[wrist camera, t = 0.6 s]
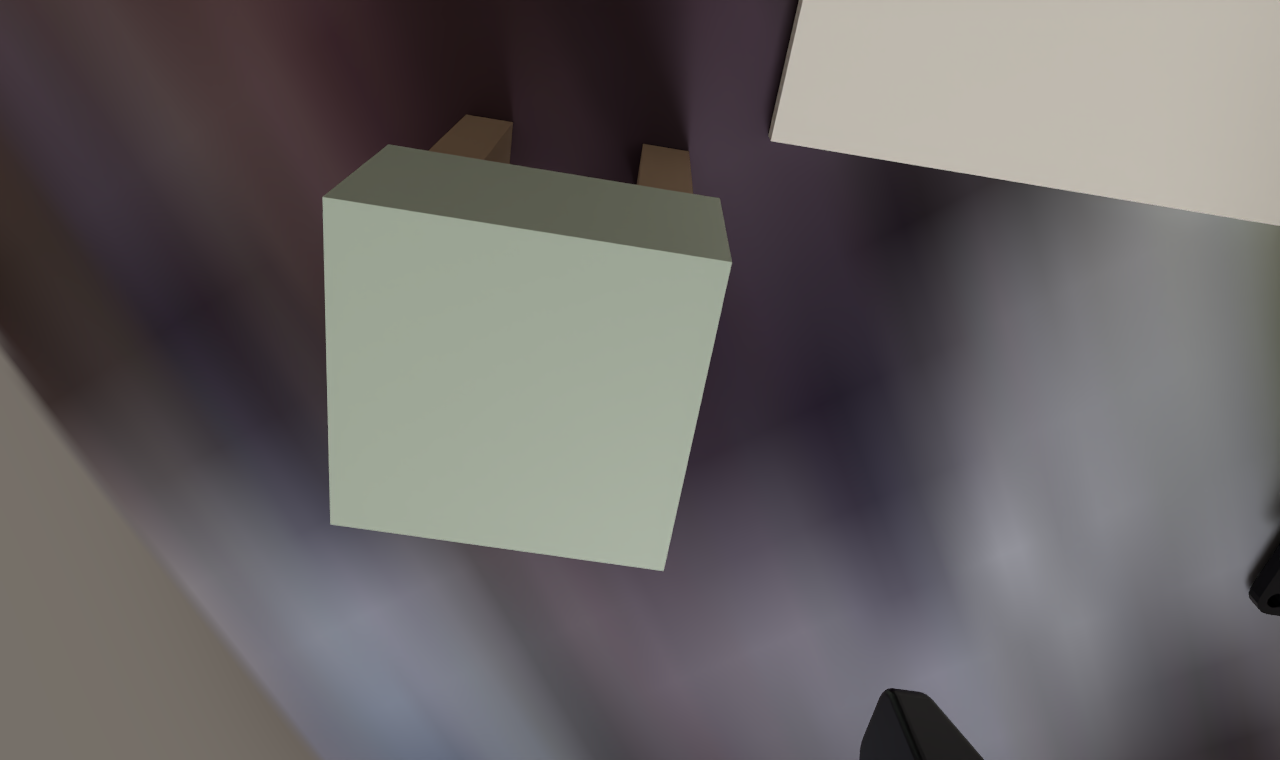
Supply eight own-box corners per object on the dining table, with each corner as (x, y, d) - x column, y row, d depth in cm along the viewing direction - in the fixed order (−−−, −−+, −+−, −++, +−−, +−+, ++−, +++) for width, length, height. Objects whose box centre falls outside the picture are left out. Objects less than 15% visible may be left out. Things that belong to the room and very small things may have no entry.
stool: (708, 137, 18) (731, 262, 11) (664, 363, 21) (663, 570, 14) (450, 94, 18) (322, 196, 11) (439, 328, 20) (330, 524, 14)
